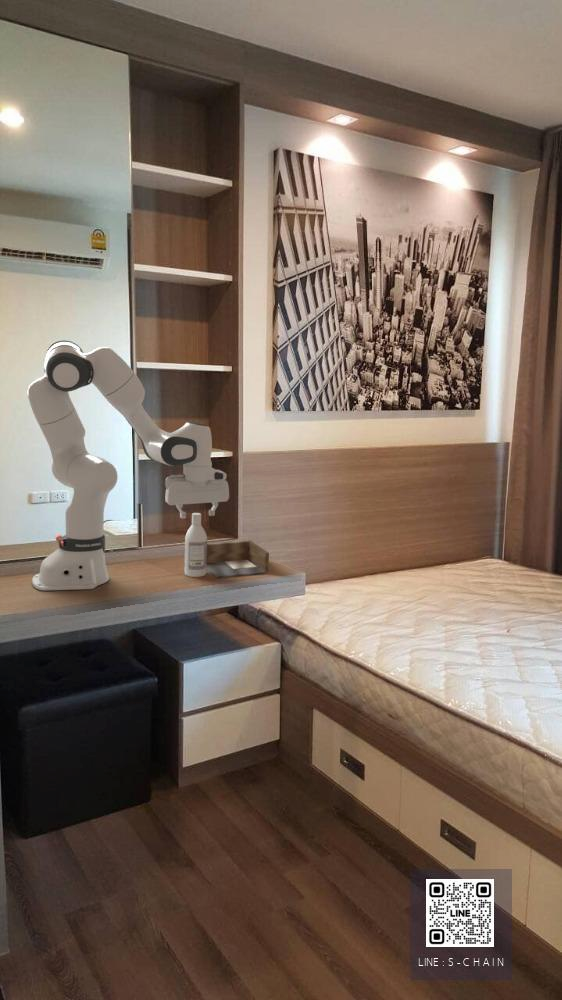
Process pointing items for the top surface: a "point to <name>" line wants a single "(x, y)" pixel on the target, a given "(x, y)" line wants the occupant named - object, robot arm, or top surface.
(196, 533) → the bath foam
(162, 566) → the top surface
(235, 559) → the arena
